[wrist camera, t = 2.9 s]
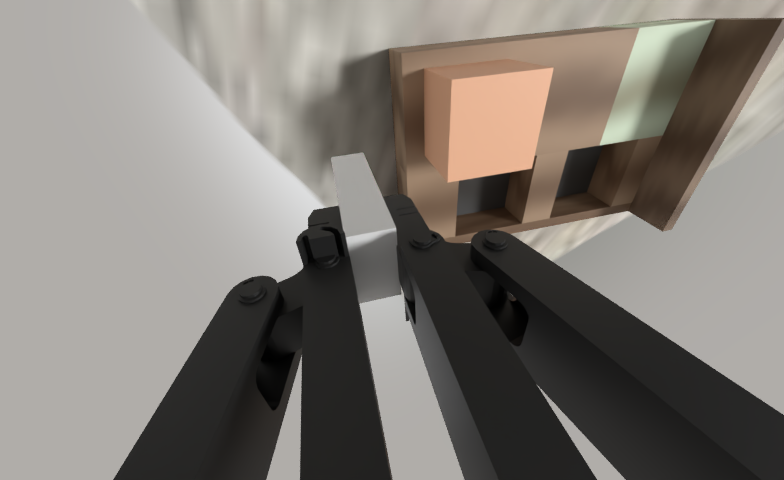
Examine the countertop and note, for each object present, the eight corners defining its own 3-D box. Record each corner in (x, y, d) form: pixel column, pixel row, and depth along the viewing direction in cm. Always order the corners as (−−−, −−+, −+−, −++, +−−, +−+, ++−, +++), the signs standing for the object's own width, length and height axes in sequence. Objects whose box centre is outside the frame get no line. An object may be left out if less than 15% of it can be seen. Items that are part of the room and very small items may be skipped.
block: (424, 68, 20) (451, 79, 16) (507, 58, 21) (553, 67, 17) (424, 155, 24) (447, 182, 20) (496, 144, 24) (531, 168, 20)
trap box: (388, 48, 22) (419, 59, 16) (675, 18, 26) (795, 17, 19) (400, 230, 32) (422, 281, 26) (607, 192, 36) (671, 229, 29)
